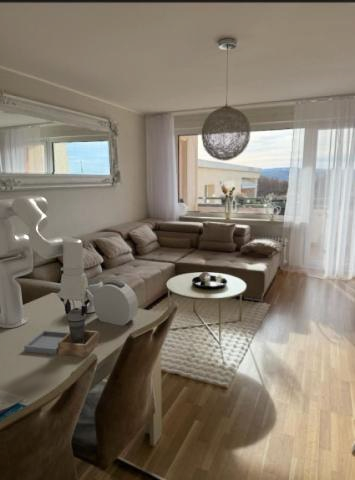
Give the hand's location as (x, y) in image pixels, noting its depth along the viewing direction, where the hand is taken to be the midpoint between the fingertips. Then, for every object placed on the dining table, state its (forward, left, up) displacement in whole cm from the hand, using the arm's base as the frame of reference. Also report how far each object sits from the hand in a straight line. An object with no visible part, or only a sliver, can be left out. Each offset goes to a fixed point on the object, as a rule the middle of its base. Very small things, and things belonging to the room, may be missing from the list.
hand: (76, 313), depth 134 cm
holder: (+1, 0, -15) cm, 15 cm away
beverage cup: (0, 0, -14) cm, 14 cm away
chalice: (-12, +39, -15) cm, 44 cm away
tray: (-13, +1, -15) cm, 20 cm away
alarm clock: (+6, +28, -15) cm, 32 cm away
